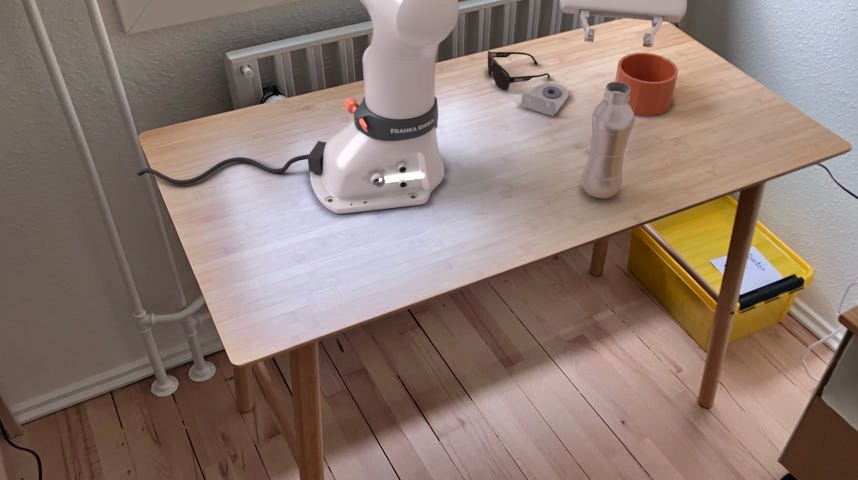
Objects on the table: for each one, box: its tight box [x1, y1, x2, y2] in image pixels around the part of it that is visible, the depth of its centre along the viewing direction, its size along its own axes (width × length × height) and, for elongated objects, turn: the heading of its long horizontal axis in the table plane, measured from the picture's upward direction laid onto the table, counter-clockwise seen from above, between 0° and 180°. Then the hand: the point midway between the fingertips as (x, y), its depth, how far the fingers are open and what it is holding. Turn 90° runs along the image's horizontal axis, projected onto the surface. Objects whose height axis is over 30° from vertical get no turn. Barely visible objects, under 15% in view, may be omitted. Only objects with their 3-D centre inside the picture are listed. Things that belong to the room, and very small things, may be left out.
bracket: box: [521, 82, 570, 117], centre depth 159 cm, size 7×10×4 cm, turn 153°
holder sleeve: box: [614, 52, 679, 117], centre depth 159 cm, size 11×11×7 cm
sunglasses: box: [487, 50, 551, 91], centre depth 165 cm, size 10×12×5 cm
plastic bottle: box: [581, 81, 636, 199], centre depth 133 cm, size 6×7×20 cm
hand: (618, 43), depth 134 cm, fingers open, 8 cm apart
